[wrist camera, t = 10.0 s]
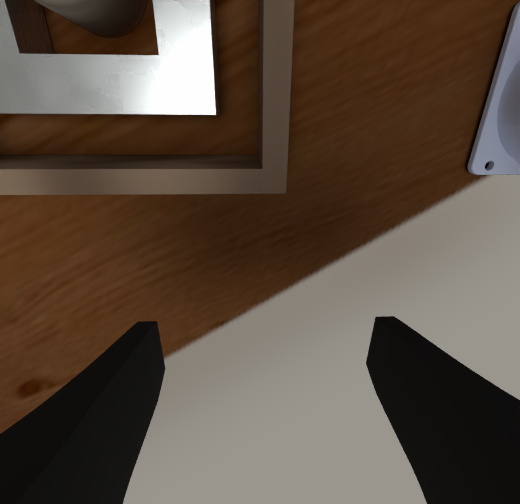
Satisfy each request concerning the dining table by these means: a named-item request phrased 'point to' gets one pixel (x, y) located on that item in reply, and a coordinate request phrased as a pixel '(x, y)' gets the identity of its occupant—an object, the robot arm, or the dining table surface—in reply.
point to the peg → (100, 14)
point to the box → (183, 166)
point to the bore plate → (111, 67)
